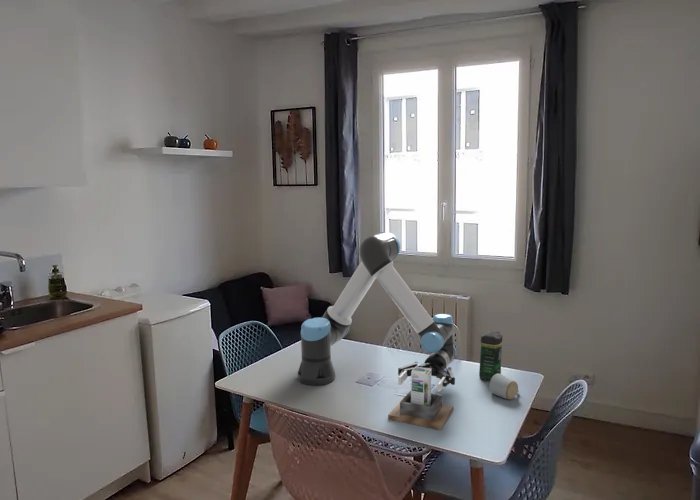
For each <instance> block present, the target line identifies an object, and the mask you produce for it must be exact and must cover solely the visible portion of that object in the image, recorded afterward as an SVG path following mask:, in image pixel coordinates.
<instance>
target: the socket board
mask: <svg viewBox="0 0 700 500" xmlns="http://www.w3.org/2000/svg"><path fill="white" fill-rule="evenodd" d="M453 411H454V405H452V404H446V403H443V395H441V394H437V393H431V407H429V406H424V405H418V404H413V403H411V390H409V392H408V393H406V395H404V396H403V397H402V398H401V400H399V402H398V403H397V404H396V405H395V406H394V407H393V409H392V410H391V411H390V412H389V413H388V416H387V419H388V420H390V419H391V421H396V422H401V423H405V424H411V425H415V426H419V427H420V426H421V427H425V428H428V429H429V428H430V429H434V430H439V431H440V430H442V428H443V427H444V426H445V424H446V422H447V421H448V419H449V418H450V415H452V413H453Z"/></svg>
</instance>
